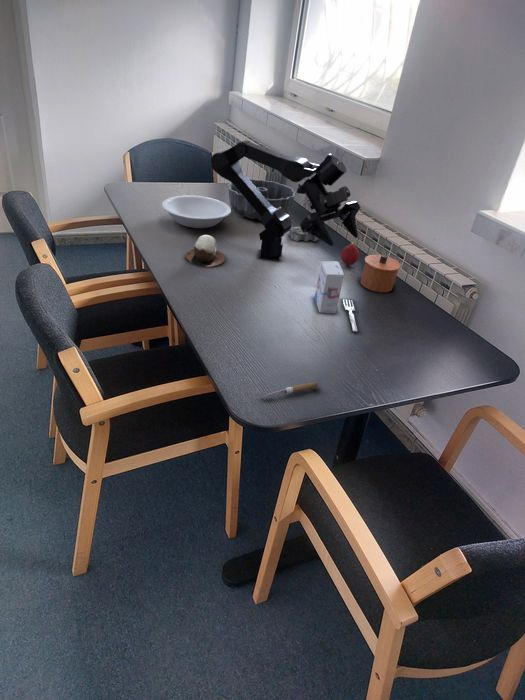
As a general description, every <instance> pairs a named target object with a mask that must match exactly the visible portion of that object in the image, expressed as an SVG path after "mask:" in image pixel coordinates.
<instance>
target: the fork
mask: <svg viewBox="0 0 525 700" xmlns="http://www.w3.org/2000/svg"><path fill="white" fill-rule="evenodd" d="M353 301H354V300H352V299H351V300H350V299H348V300H347V299H342V304H343V309H344V311H346V312H348V318H349V322H350V328H351V331H352V333H356V334H357V333H358V331H359V330H358V326H357V322H356V319H355V314H354V313H355V312H356V309H355V305H354V302H353Z"/></svg>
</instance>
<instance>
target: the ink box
mask: <svg viewBox="0 0 525 700" xmlns="http://www.w3.org/2000/svg"><path fill="white" fill-rule="evenodd" d="M319 265H320V266H319V271H318V276H317V283H316V288H315V293H314V301H315V303H316V306H317V309H318V312H319V314H337V310H338V306H339V301H340V296H341V291H342V288H343V281H344V278H345V273H344V271H343V269H342V267H341V264H340V262H339V261H336V260H334V261H333V260H321V261H320V264H319Z"/></svg>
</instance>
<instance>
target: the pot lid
mask: <svg viewBox="0 0 525 700" xmlns="http://www.w3.org/2000/svg"><path fill="white" fill-rule="evenodd" d="M365 262H366V263H367V264H368V265H369V266H371V267H373V268H375V269H379V270H383V271H396V270H398V271H399V270H400V269H401V266H402V265H401V263H400V262H399V261H398V260H396V259H395V258H392V257H390V256H388V255H387V254H369V255H367V256H365V257H364V263H365Z"/></svg>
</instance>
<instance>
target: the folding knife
mask: <svg viewBox="0 0 525 700" xmlns="http://www.w3.org/2000/svg"><path fill="white" fill-rule="evenodd" d="M318 385H319V382H318V381H314V382H308V383H299V384H296V385H292V386H288V387H285V388H283V389H281V390H276V391H274V392H270V393H268V394H264V395H261V396H260V398H261V399H270V398H274V397H277V396H282V395H284V394H286V395H287V394H288V395H289V394H293V393H299V392H304V391H308V390H317V389H318Z"/></svg>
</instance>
